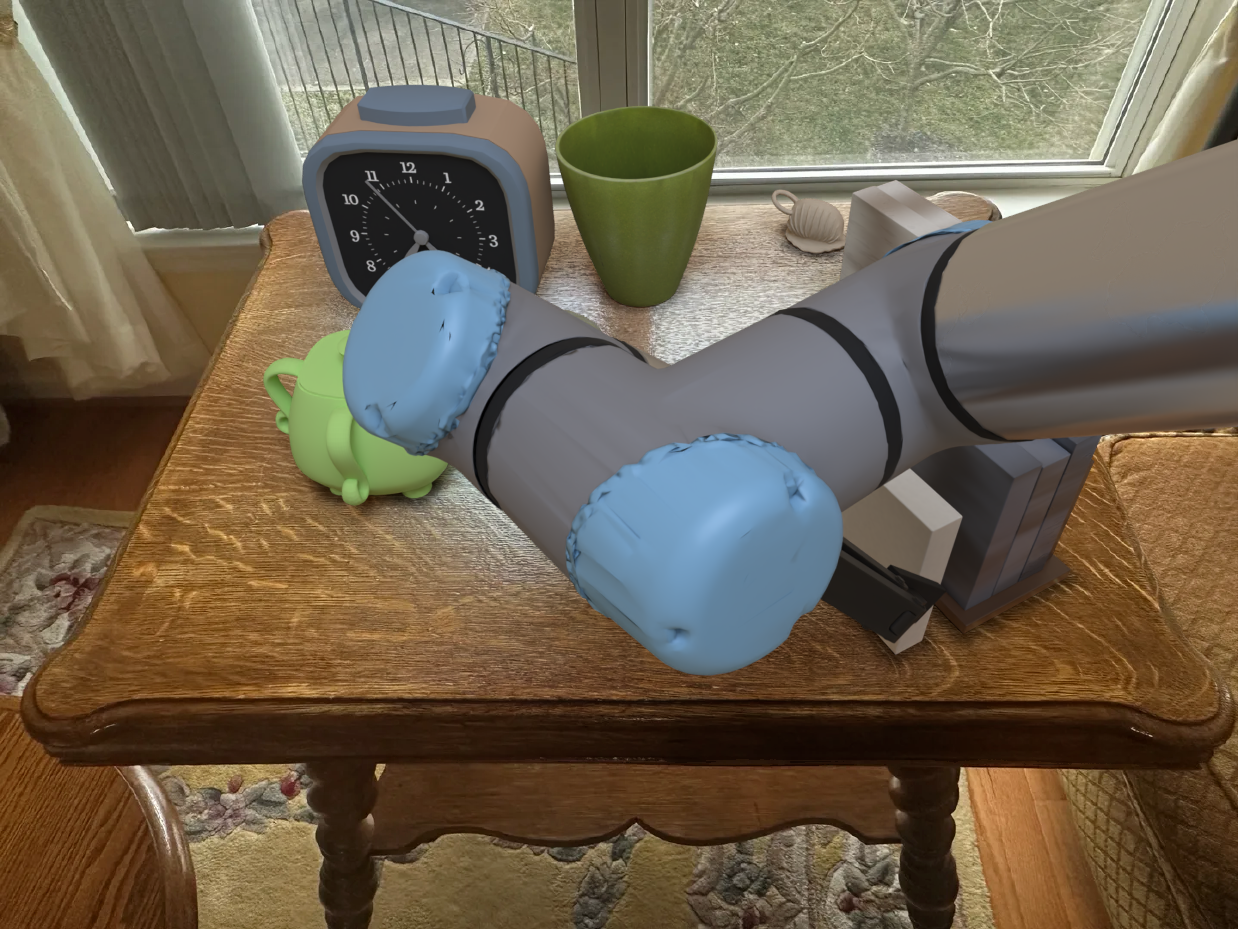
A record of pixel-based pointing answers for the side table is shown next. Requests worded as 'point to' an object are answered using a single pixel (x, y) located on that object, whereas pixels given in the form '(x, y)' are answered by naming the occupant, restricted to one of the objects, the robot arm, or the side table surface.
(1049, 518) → the grey rack
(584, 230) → the flower pot
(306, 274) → the side table surface
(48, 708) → the side table surface
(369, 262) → the alarm clock
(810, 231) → the decorative ornament
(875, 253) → the beige and brown bookend
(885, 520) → the white book
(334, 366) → the teapot
